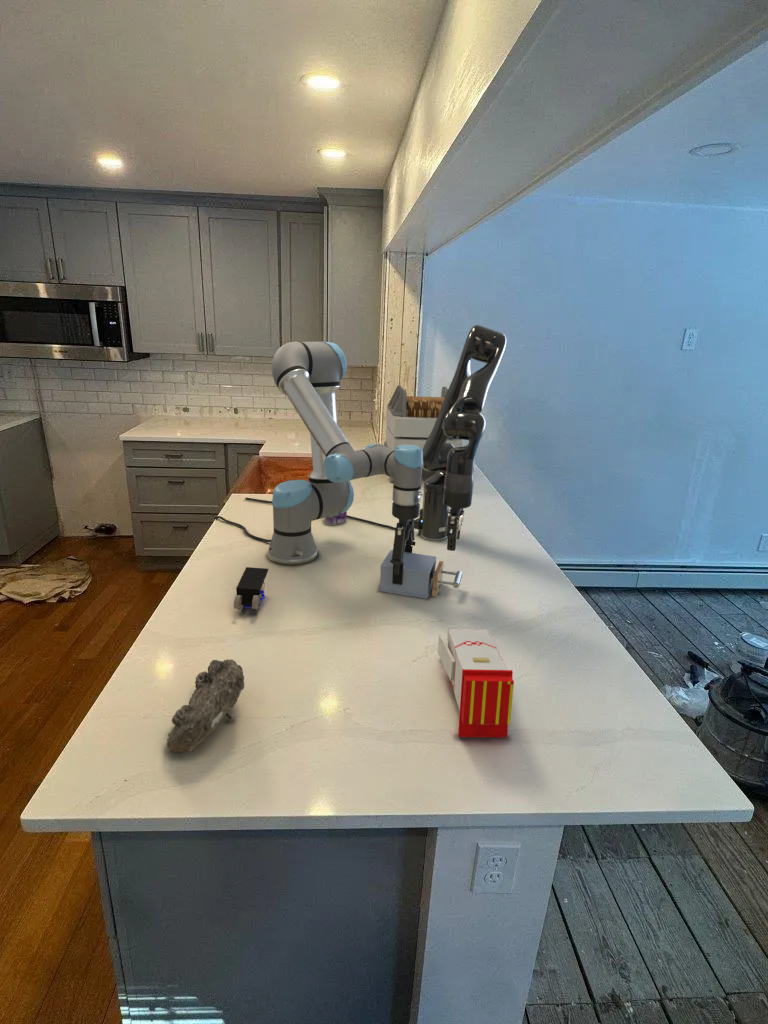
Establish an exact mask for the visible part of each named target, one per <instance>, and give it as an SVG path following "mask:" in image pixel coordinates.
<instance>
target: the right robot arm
mask: <svg viewBox="0 0 768 1024" xmlns="http://www.w3.org/2000/svg"><path fill="white" fill-rule="evenodd" d="M506 346H507V336H506V334H504V333H502V332H500V331H498V330H495V329H491V328H489V327H486V326H483V325H479V324H474V325H473V326H472V327H470V330H468V333H467V336H466V339H465V341H464V343H463V347H462V350H461V354H460V356H459V360H458V363H457V366H456V369H455V372H454V375H453V377H452V380H451V382H450V384H449V387H448V388H447V389H448V391H447V394H446V396H445V399H444V401H443V404H442V407H441V410H440V413H439V415H438V417H437V420H436V422H435V425H434V427H433V429H432V431H431V433H430V435H429V437H428V439H427V441H426V443H425V445H424V447H423V449H422V451H423V468H422V470H424V471H426V472H434V473H433V475H431V476H429V477H428V478H426V479H425V480H424V482H423V492H422V493H423V495H422V496H423V497H422V506H421V508H420V511H419V516H418V517H417V518H416V519H414V530H417V535H418V536H420V538H421V539H424V540H426V541H432V542H440V541H444V540H446V539H447V543H446V550H447V551H451V552H455V551H456V547H457V540H460V537H461V527H462V526H463V522H464V516H465V510H464V509H467V508H470V507H471V505H472V502H473V501H472V500H473V493H474V492H473V491H474V480H475V478H474V469H475V462H476V461H475V460H476V455H477V451H478V447H479V446H480V442H481V440H482V438H483V435H484V433H485V430H486V423H487V422H486V419H485V417H484V416H483V414H481V413H482V411H483V409H484V407H485V402H486V400H487V399H486V398H487V394H488V391H489V388H490V386H491V384H492V381H493V379H494V377H495V375H496V373H497V370H498V367H499V365H500V363H501V360H502V357H503V355H504V352H505V349H506ZM471 360H474V361H477V362H480V363H483V364H485V365H484V366H483V367H481V368H479V369H477V370H476V371H474V372H473V373H471ZM449 438H452V439H461V440H462V441H468V443H467V444H466V445H465V446H462V447H456V448H454V446H453V445H452V444H451V443H446V441H447V440H448V439H449ZM245 500H246V501H252V502H253V501H254V502H257V503H258V502H259V503H264V504H265V503H266V504H271V505H273V504H272V500H265V499H259V498H252V497H245ZM346 519H350V520H355V521H359V522H364V523H367V524H370V525H374V526H379V527H382V528H387V529H390V530H394V531H395V528H396V526H392V525H389V524H383V523H379V522H375V521H372V520H368V519H365V518H361V517H360V518H359V517H357V516H351V515H348V514H347V515H346Z"/></svg>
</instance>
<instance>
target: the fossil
mask: <svg viewBox="0 0 768 1024" xmlns="http://www.w3.org/2000/svg"><path fill="white" fill-rule="evenodd" d="M243 670H244V669H243V667H242V665H240V664H237V662H236V661H235V660H234V659H232V658H231V659H227V658H226V659H224V660H223V661H222V660H217V659H212V660H211V661H210V663H209V665H208V666H207V671H201V672H199V673H198V674H197V675H196V676H195V680H194V684H195V685H194V687H195V689H194V690H193V693H192V694H191V697H190V698H189V700H188V704H184V705H182V706H181V707H180V709H177V710H176V711H175V713H174V715H173V716H172V718H171V723H172V724H173V727H172V730H171V731H170V732H168V734H167V738H166V741H167V742H166V745H167V749H168V750H169V751H173V752H174V753H176V754H178V753H182V752H188V751H189V752H192V751H193V750H195V748H196V747H197V746H199V744H200V743H201V742H203V741H204V740H205V739H206V738H207V737H208V736H209V735H210V734H211V733H212V732H214V730H215V729H217V727H218V726H219V724H220V722H221V721H222V720H223V719H224V718H225V716H226V717H227V719H229V720H233V717H232V715H230V714H229V710H230V709H231V708H234V706H235V704H236V703H237V702H238V699H239V697H240V695H241V693H242V691H243V690H245V689H244V688H245V675H244V671H243Z"/></svg>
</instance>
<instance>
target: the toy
mask: <svg viewBox="0 0 768 1024" xmlns="http://www.w3.org/2000/svg"><path fill="white" fill-rule="evenodd" d="M446 640H447V643H446V641H445V639H444V636H443V635H442V634H439V637H438V646H437V656H438V657H439V659H440V661H441V663H442V666H443V668H444V670H445V672H446V674H447V677H448V679H449V681H450V684H451V687H452V690H453V693H454V697H455V701H456V705H457V708H458V711H459V714H458V715H459V716H458V730H457V731H458V732H457V737H458V738H508V731H509V726H510V725H511V717H512V707H513V697H514V696H513V695H514V684H515V680H514V679H513V673H514V671H513V670H512V669H508V667H507V665H506V662H505V661H504V659H503V658H502V655H501V653H500V651H499V649H498V647H497V643H496V639H495V637H494V635H493V634H491V632H490V631H489V629H467V628H466V629H465V628H463V629H461V628H460V629H459V628H448V630H447V639H446Z"/></svg>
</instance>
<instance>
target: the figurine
mask: <svg viewBox="0 0 768 1024" xmlns="http://www.w3.org/2000/svg"><path fill="white" fill-rule="evenodd" d="M347 513H348V510H347V511H346V512H344V513H340V514H339V515H336V516H329V517H325V518H323V520H324V524H325V525H328V526H335V525H336V526H337V525H341V524H343V523H345V522H346V521H347V518H346V515H348V514H347Z"/></svg>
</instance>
